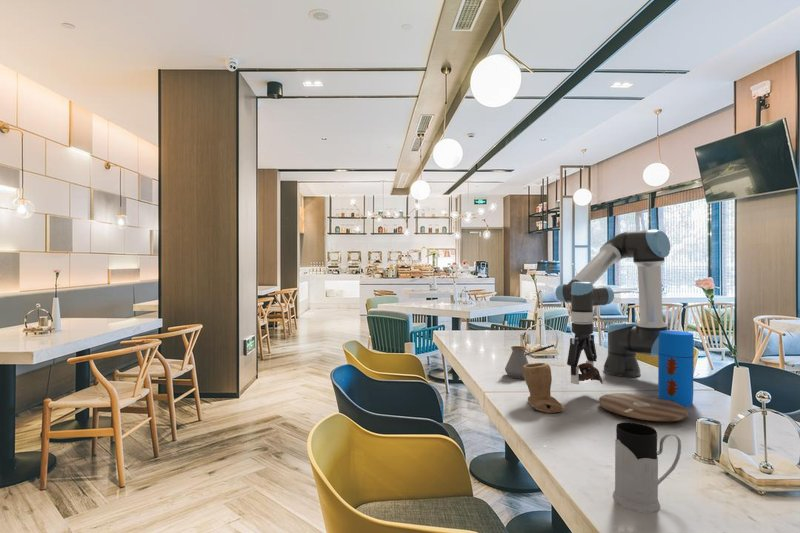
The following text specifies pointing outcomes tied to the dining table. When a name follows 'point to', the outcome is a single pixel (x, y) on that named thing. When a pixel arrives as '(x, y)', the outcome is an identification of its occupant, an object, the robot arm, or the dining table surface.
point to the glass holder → (639, 466)
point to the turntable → (643, 407)
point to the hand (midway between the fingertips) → (582, 380)
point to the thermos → (676, 367)
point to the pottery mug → (589, 372)
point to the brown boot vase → (540, 387)
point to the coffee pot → (519, 361)
